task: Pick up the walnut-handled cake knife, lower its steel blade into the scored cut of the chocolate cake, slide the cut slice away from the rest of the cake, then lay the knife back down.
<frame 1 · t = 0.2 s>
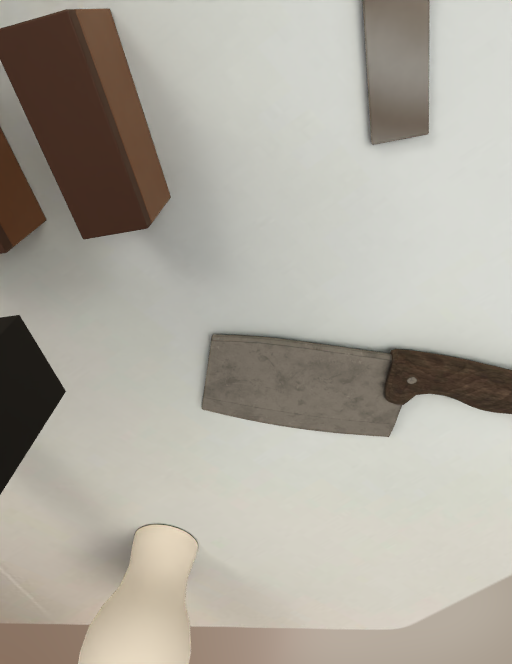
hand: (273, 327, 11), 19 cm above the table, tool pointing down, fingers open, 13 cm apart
cup: (166, 540, 54), on the table
cake slice: (112, 120, 26), on the table
cleaver: (379, 386, 36), on the table
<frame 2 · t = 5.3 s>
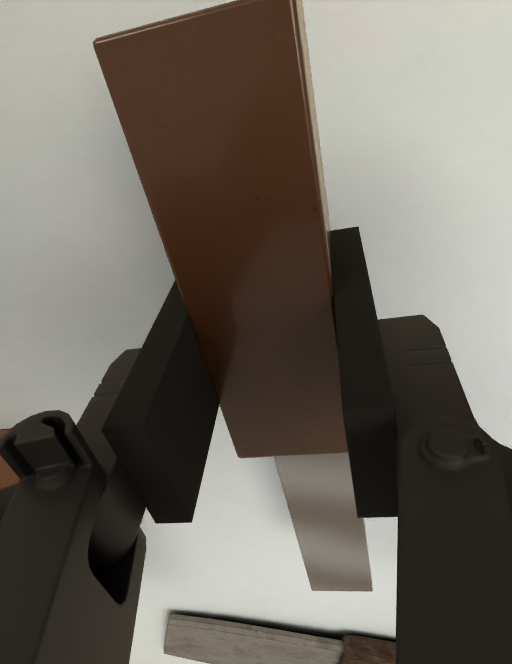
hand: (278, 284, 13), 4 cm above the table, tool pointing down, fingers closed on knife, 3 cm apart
cake slice: (59, 485, 27), on the table
cleaver: (336, 649, 37), on the table
knife: (303, 392, 16), point 4 cm above the table, touching gripper
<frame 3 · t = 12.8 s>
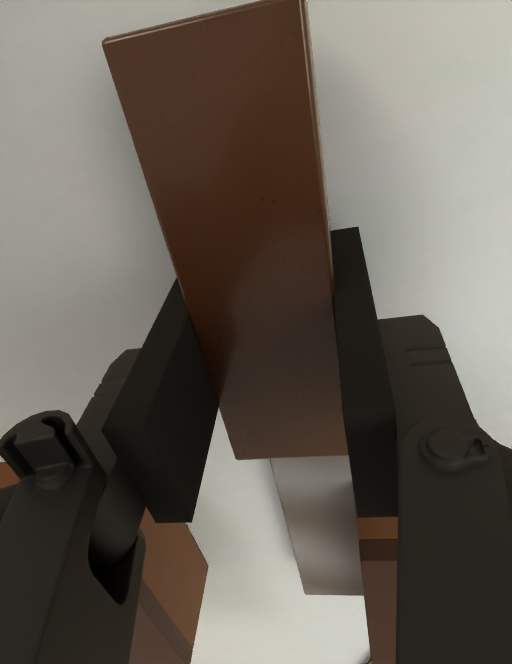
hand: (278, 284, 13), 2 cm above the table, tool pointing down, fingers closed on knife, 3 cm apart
cake slice: (401, 510, 21), on the table, touching knife
cake: (112, 518, 24), on the table
knife: (300, 394, 16), point 1 cm above the table, touching cake slice, gripper
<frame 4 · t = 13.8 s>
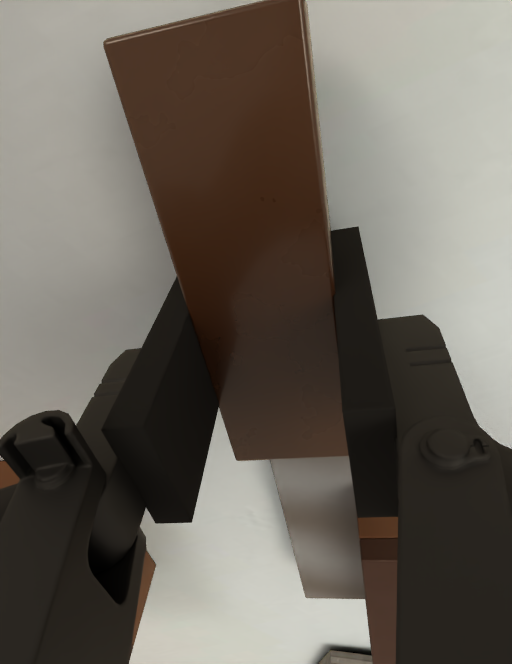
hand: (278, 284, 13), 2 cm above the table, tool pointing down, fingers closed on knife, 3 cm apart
cake slice: (401, 510, 21), on the table, touching knife
cake: (58, 518, 25), on the table
knife: (300, 396, 16), point 1 cm above the table, touching cake slice, gripper
when the fingers open (0 cm above the table, at t = 19.3 s): knife stays where it is, on the table.
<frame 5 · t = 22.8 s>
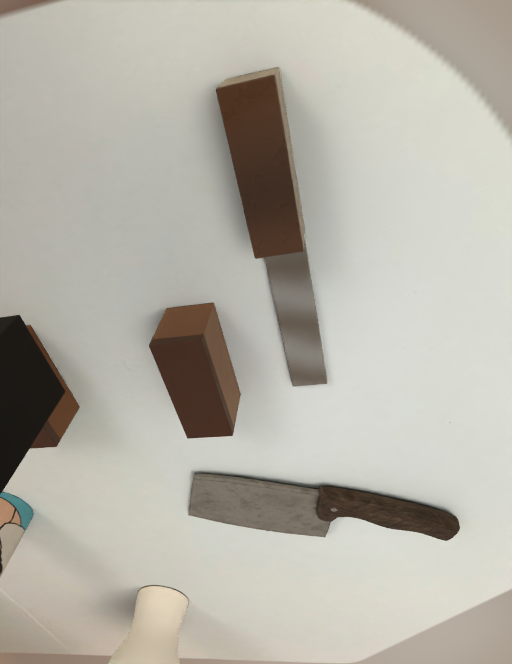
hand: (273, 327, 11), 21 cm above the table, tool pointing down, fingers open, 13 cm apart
cup: (163, 596, 68), on the table
cake slice: (205, 353, 39), on the table
cake: (19, 372, 43), on the table
cleaver: (316, 505, 50), on the table
knife: (284, 245, 32), on the table
cup 2: (7, 506, 57), on the table
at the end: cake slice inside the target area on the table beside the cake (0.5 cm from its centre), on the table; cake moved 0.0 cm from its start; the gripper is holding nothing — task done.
